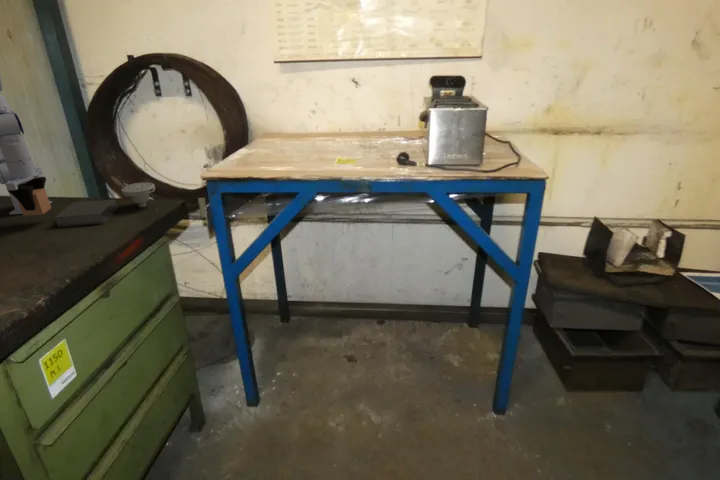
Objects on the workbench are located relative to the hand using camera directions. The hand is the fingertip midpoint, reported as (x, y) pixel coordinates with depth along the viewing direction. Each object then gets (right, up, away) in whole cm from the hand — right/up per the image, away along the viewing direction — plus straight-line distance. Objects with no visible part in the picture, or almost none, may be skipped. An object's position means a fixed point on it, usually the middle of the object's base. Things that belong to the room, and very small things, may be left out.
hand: (35, 206), depth 120 cm
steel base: (+12, -3, +6) cm, 13 cm away
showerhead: (+23, +1, +14) cm, 27 cm away
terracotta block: (0, -1, +1) cm, 2 cm away
